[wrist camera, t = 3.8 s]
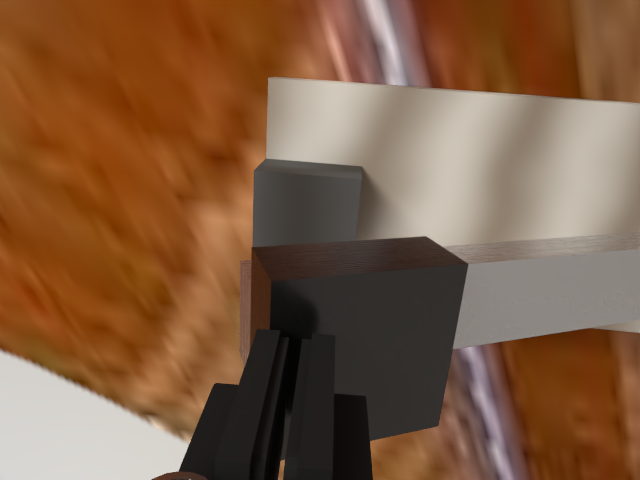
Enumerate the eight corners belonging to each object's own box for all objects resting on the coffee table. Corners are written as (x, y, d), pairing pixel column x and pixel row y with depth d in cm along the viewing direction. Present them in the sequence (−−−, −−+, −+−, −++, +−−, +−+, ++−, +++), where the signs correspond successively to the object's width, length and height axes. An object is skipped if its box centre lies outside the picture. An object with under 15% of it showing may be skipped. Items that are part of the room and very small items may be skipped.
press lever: (752, 202, 21) (859, 229, 18) (712, 305, 22) (803, 346, 19) (240, 227, 13) (271, 281, 10) (239, 378, 15) (265, 463, 12)
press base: (789, 113, 24) (966, 134, 17) (706, 323, 28) (821, 410, 21) (275, 76, 26) (241, 81, 19) (269, 281, 30) (239, 349, 23)
